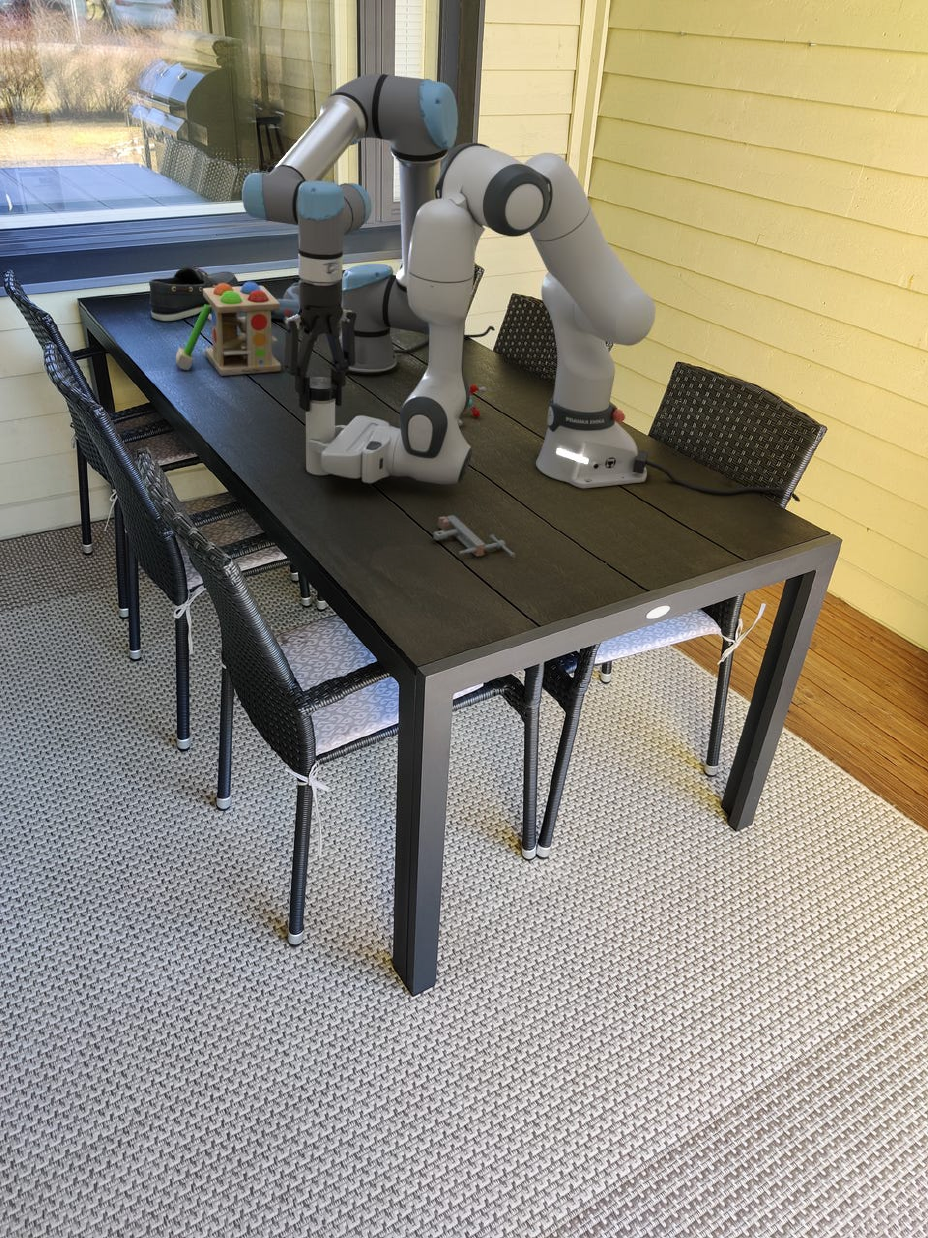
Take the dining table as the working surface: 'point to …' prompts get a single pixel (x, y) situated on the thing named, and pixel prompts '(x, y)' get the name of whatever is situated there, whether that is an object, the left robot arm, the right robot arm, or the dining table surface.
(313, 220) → the left robot arm
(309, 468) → the jar
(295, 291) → the power drill
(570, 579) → the dining table surface
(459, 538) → the clamp
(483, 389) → the molecular model
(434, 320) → the right robot arm
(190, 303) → the boat shoe
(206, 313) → the pounding bench toy
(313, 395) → the lid
